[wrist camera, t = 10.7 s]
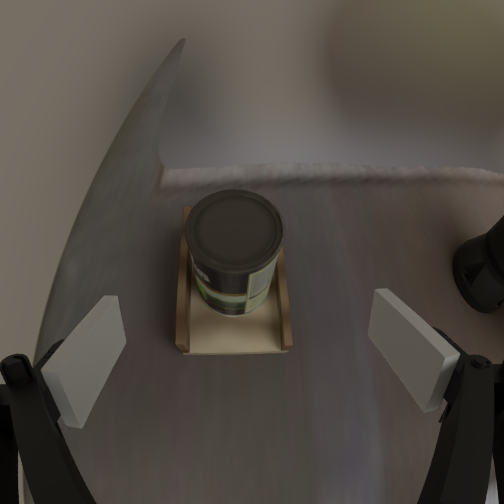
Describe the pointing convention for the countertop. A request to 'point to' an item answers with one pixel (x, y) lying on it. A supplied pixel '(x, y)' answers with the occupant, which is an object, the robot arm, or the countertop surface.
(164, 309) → the countertop surface
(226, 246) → the coffee can
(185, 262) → the curved wooden tray
